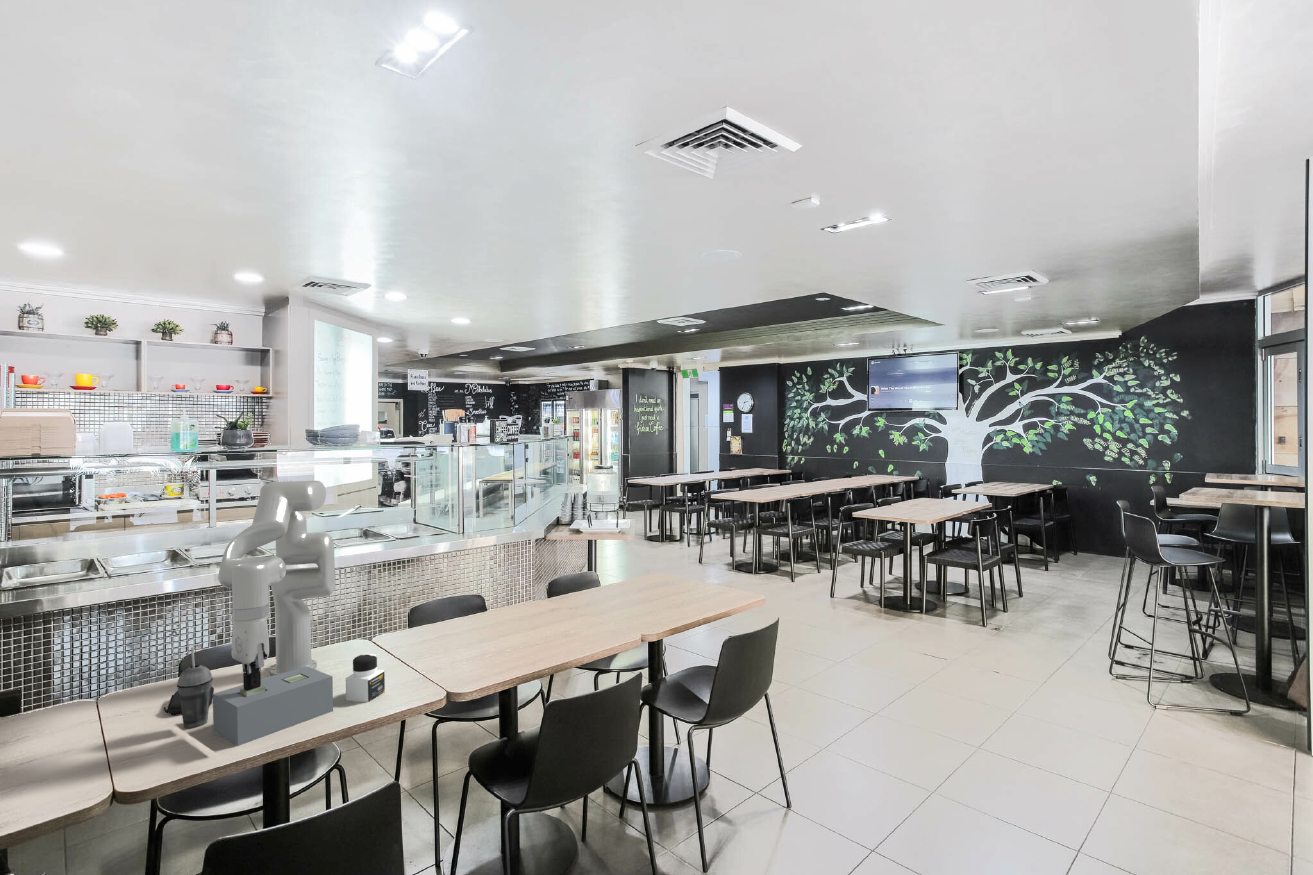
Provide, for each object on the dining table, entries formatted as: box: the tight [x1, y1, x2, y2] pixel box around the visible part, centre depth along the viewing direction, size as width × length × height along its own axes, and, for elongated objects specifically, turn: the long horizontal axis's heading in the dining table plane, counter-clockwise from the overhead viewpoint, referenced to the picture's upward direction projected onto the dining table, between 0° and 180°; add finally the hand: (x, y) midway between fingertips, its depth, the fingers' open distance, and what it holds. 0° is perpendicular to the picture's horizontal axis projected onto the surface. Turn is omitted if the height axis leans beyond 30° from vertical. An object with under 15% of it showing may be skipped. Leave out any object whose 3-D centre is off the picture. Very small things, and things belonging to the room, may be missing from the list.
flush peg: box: [283, 674, 307, 683], centre depth 161 cm, size 4×4×9 cm
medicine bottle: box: [345, 653, 386, 703], centre depth 171 cm, size 7×7×12 cm
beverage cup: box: [176, 646, 214, 730], centre depth 156 cm, size 7×7×20 cm
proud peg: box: [240, 685, 265, 697], centre depth 153 cm, size 4×4×9 cm
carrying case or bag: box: [162, 685, 215, 717], centre depth 171 cm, size 11×3×15 cm
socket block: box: [212, 666, 334, 747], centre depth 157 cm, size 14×22×10 cm, turn 145°
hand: (252, 687), depth 153 cm, fingers closed
